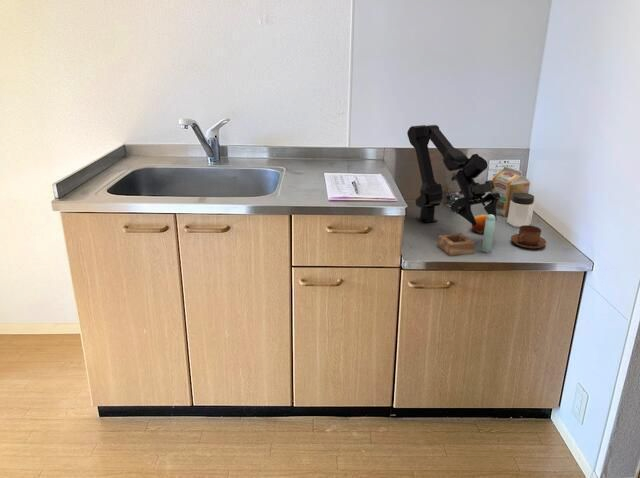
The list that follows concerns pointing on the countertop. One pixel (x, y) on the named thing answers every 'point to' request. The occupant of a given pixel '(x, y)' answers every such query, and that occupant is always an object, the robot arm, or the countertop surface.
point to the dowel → (488, 233)
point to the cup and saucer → (529, 237)
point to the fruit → (479, 223)
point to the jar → (521, 209)
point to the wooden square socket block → (456, 244)
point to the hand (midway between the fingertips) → (485, 223)
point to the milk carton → (508, 188)
